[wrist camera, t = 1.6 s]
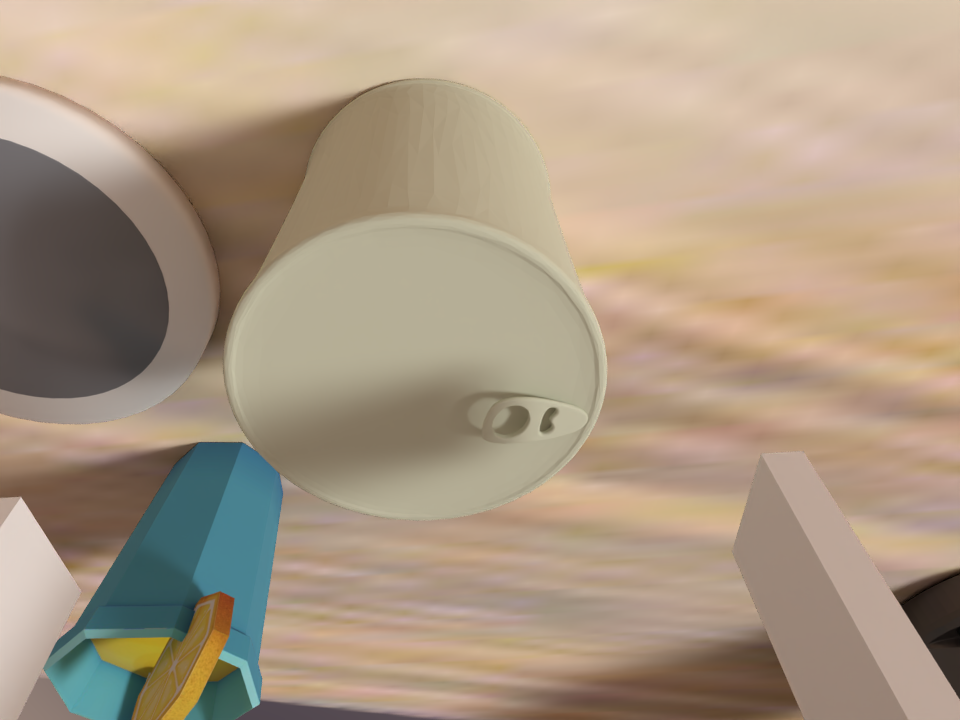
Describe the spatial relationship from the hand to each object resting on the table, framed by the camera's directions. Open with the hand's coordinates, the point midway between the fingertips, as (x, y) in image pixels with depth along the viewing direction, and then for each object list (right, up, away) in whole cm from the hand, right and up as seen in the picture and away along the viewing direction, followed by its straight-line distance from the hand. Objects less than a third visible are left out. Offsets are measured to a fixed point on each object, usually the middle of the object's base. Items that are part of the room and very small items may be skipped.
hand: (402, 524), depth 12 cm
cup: (-11, -3, +21) cm, 24 cm away
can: (-1, +9, +13) cm, 16 cm away
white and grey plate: (-16, +7, +14) cm, 22 cm away
